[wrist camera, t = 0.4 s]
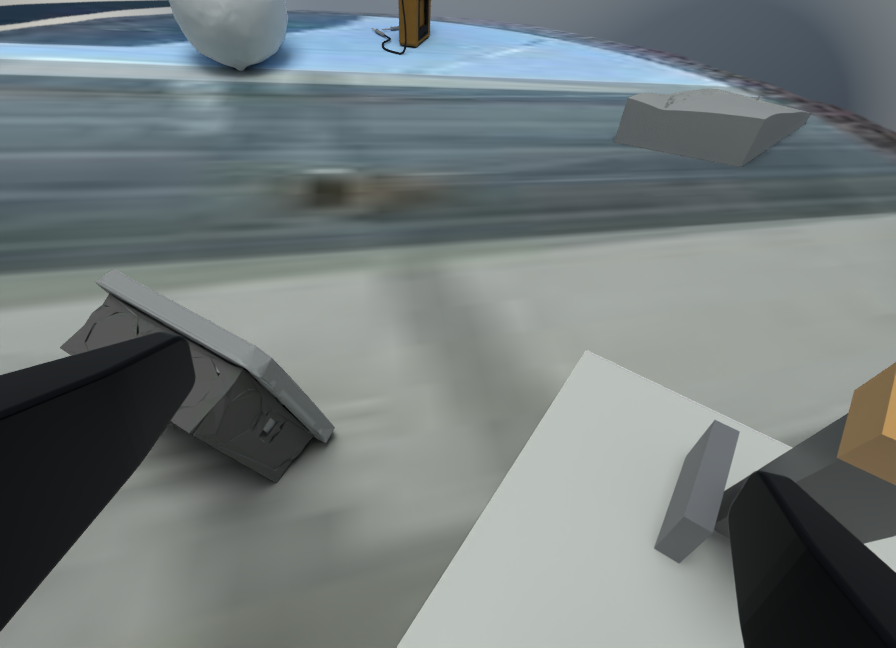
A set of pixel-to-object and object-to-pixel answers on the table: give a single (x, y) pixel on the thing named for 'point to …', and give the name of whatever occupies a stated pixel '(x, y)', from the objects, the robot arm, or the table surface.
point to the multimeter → (411, 23)
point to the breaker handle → (846, 464)
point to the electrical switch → (214, 379)
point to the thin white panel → (606, 528)
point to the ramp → (706, 125)
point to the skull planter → (233, 28)
